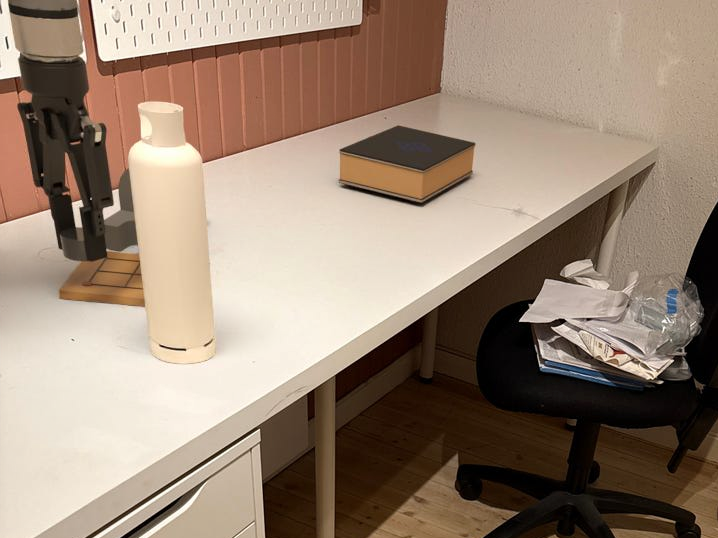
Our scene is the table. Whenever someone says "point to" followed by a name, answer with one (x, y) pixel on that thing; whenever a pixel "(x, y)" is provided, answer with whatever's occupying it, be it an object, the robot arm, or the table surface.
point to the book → (406, 163)
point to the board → (107, 280)
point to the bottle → (172, 236)
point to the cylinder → (73, 244)
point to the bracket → (122, 219)
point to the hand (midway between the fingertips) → (83, 252)
